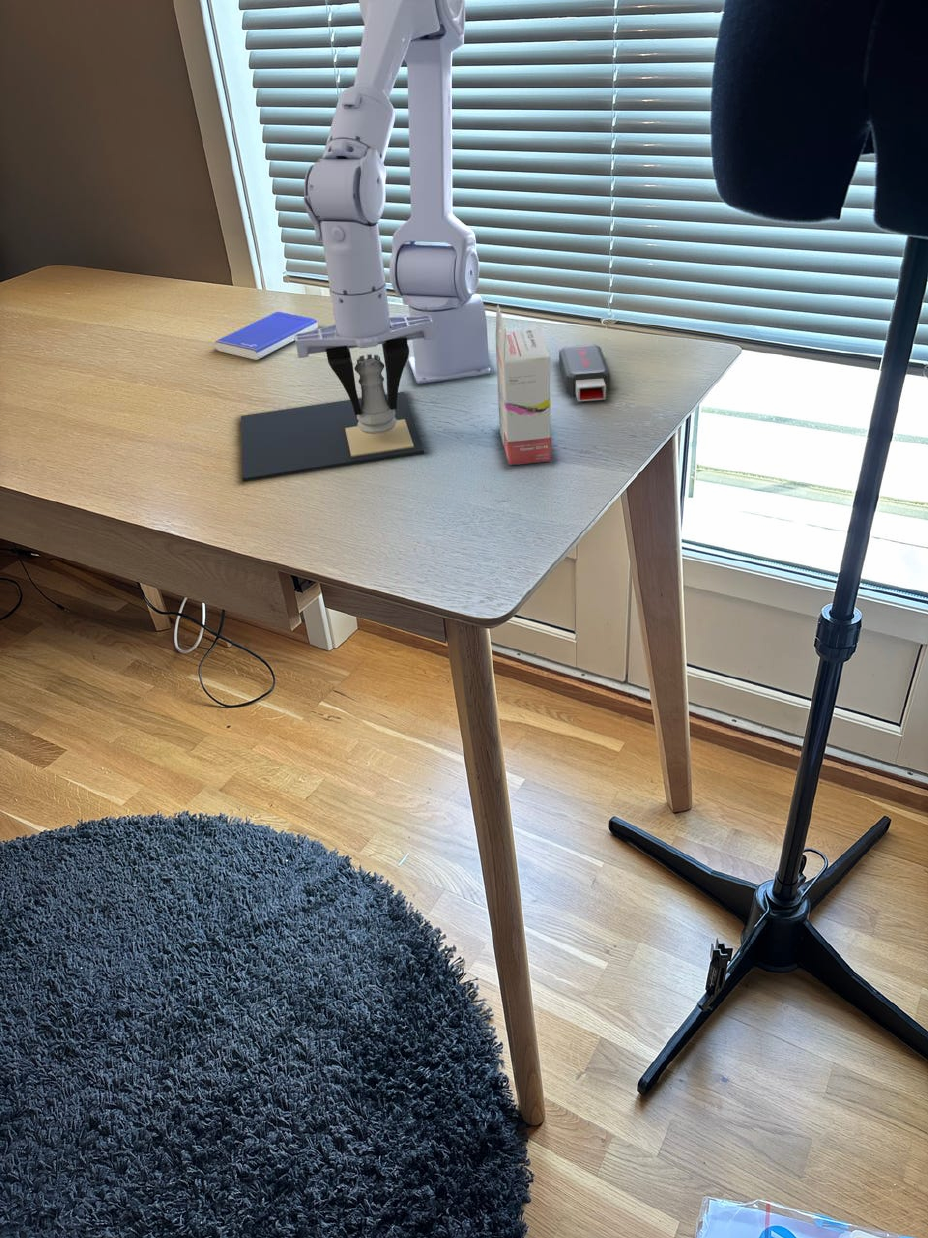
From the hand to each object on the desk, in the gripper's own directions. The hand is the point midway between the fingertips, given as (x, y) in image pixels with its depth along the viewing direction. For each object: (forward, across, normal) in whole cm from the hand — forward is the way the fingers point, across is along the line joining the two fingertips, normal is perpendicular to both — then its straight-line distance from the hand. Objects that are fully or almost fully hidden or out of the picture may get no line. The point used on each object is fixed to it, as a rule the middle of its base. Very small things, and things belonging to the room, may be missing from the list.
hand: (374, 408), depth 106 cm
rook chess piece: (+2, 0, 0) cm, 2 cm away
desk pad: (+4, -6, +4) cm, 8 cm away
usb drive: (+4, +26, +8) cm, 28 cm away
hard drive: (+4, -12, +36) cm, 39 cm away
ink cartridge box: (+4, +16, -6) cm, 17 cm away
